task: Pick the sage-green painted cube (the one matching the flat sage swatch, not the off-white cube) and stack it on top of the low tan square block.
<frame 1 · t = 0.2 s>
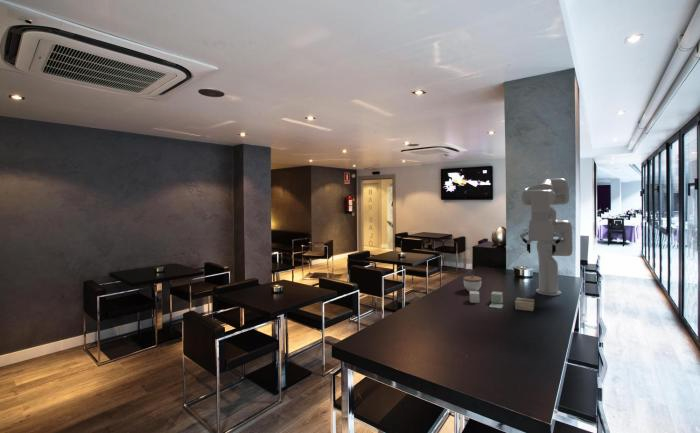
hand: (541, 253, 156), 31 cm above the table, fingers open, 9 cm apart
lidded jar: (472, 290, 206), on the table
tan square block: (524, 308, 172), on the table
offwhite cube: (474, 301, 186), on the table
sage swatch: (496, 306, 176), on the table
sage cube: (497, 301, 183), on the table
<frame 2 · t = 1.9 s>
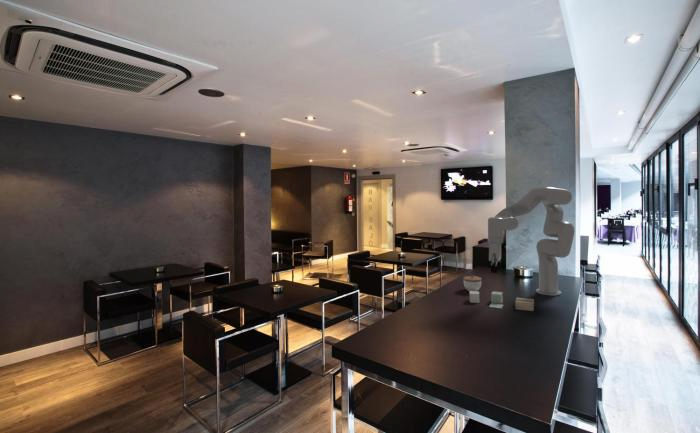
hand: (495, 271, 182), 17 cm above the table, fingers open, 9 cm apart
nothing on the table moved.
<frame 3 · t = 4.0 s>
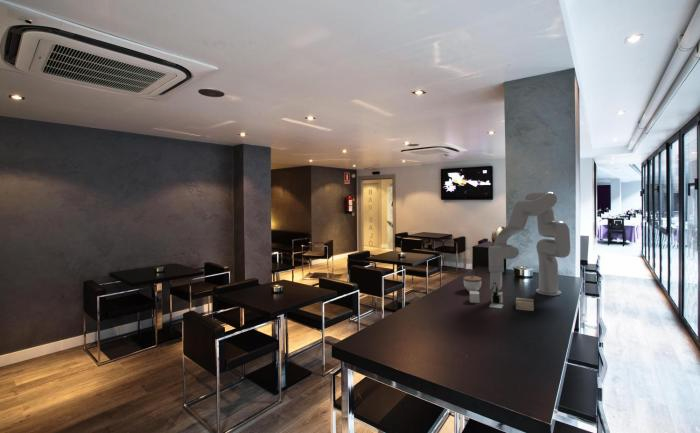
hand: (497, 300, 183), 0 cm above the table, fingers closed on sage cube, 5 cm apart
sage cube: (497, 301, 183), on the table, touching gripper
everything else where it was.
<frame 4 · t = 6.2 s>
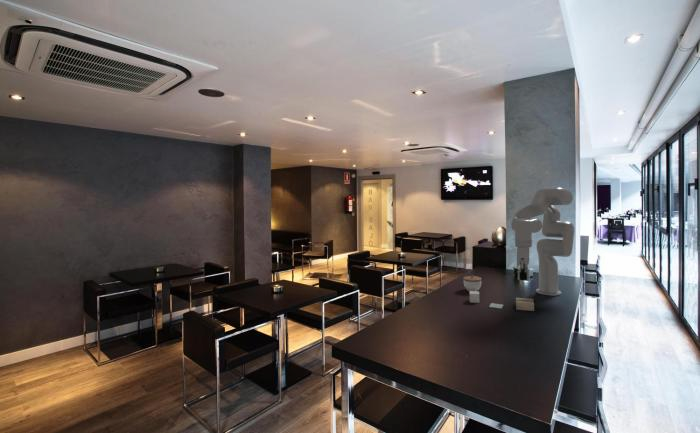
hand: (524, 278, 171), 15 cm above the table, fingers closed on sage cube, 5 cm apart
sage cube: (523, 279, 171), point 15 cm above the table, touching gripper
everything else where it was.
when the fingers open (5 cm above the table, at t = 8.4 s): sage cube drops 1 cm, point 4 cm above the table.
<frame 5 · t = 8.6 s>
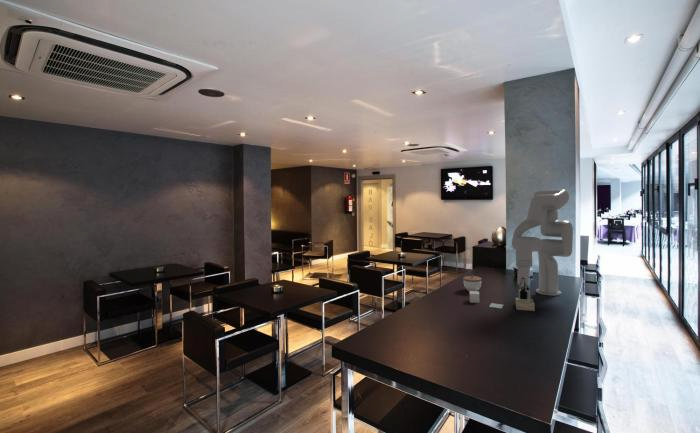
hand: (524, 296, 171), 6 cm above the table, fingers open, 7 cm apart
sage cube: (524, 300, 172), point 4 cm above the table
everything else where it was.
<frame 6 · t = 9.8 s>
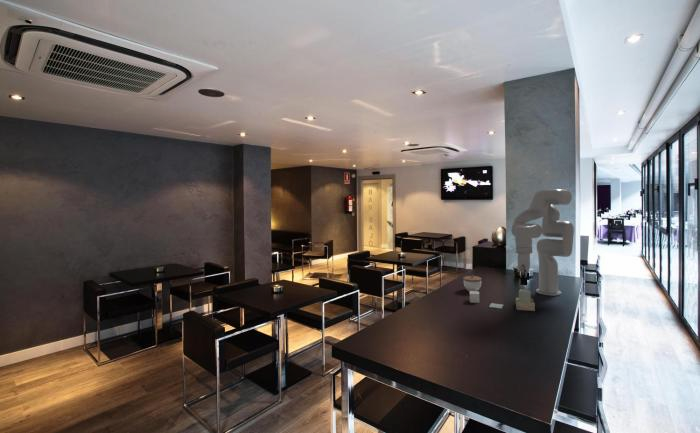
hand: (525, 282, 172), 13 cm above the table, fingers open, 9 cm apart
nothing on the table moved.
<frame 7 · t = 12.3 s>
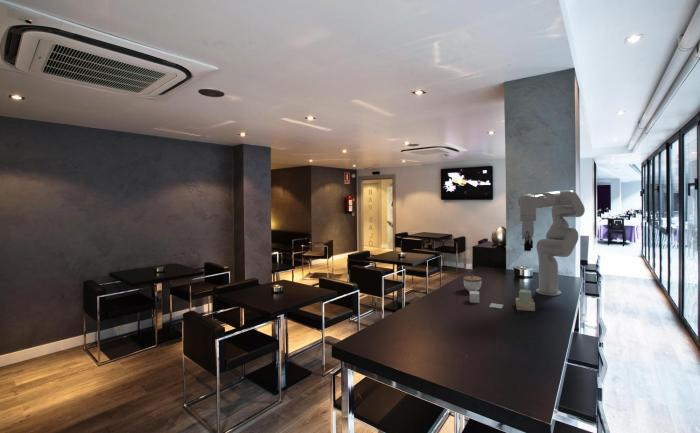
hand: (528, 249, 180), 28 cm above the table, fingers open, 9 cm apart
tan square block: (525, 308, 171), on the table, touching sage cube
sage cube: (525, 300, 171), point 4 cm above the table, touching tan square block
everything else where it was.
at the end: sage cube 0.1 cm off-centre on the tan square block, point 4.0 cm above the tan square block's base; sage cube tilted 0°; offwhite cube moved 0.1 cm from its start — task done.
